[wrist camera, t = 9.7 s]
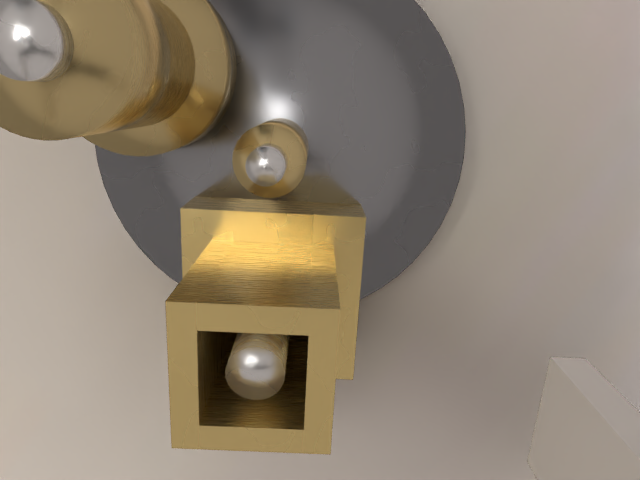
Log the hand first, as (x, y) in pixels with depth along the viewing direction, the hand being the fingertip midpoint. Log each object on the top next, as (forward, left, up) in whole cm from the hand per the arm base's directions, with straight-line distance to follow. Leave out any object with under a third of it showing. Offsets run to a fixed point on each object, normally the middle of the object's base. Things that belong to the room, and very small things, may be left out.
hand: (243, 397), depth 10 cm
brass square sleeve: (0, 0, -8) cm, 8 cm away
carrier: (-5, 0, -10) cm, 11 cm away
